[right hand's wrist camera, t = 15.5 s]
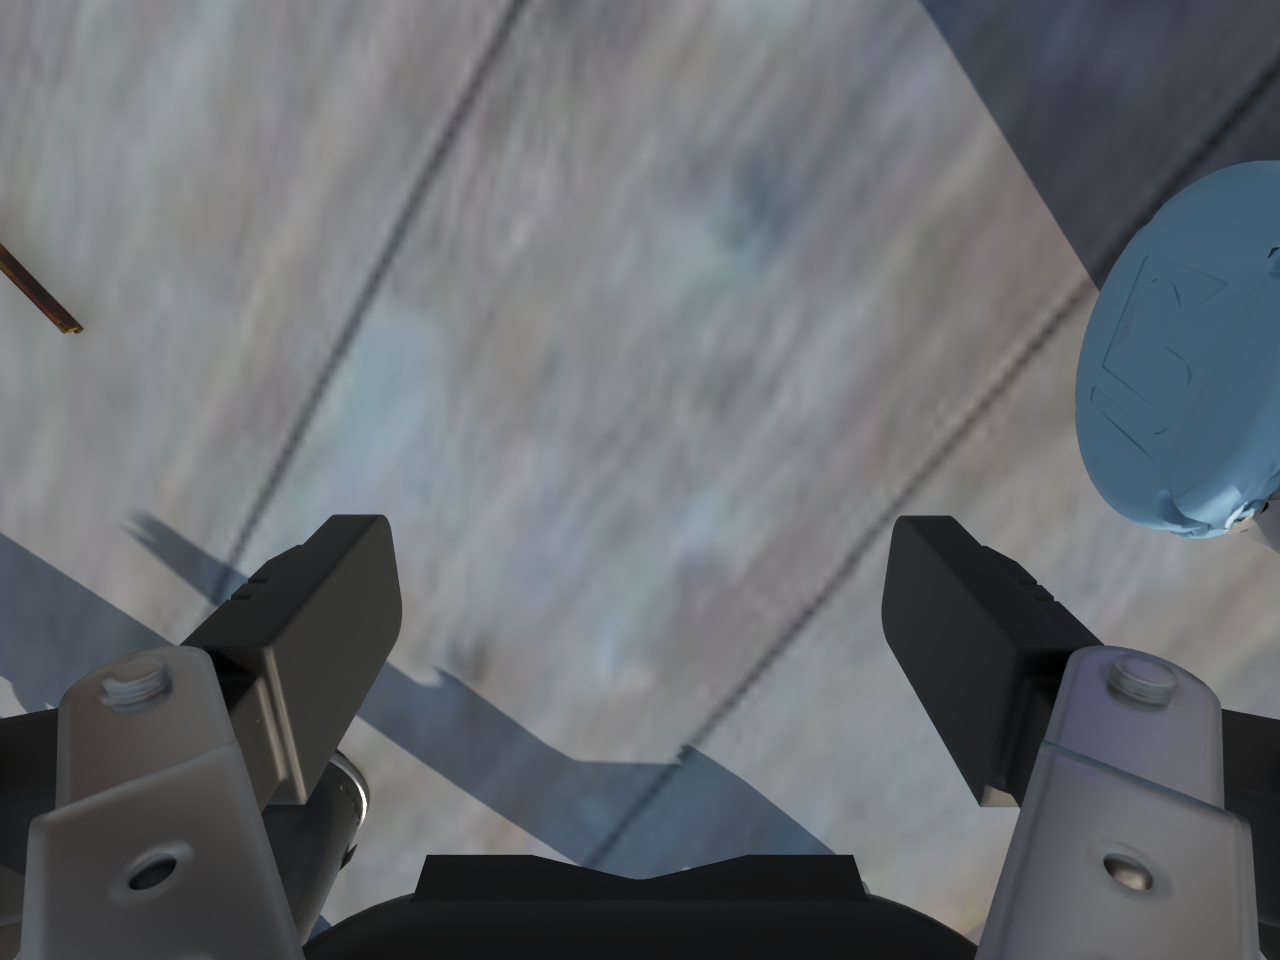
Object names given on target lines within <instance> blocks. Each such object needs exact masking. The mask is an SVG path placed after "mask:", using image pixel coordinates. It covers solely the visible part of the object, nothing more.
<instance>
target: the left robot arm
mask: <svg viewBox="0 0 1280 960" xmlns="http://www.w3.org/2000/svg"><path fill="white" fill-rule="evenodd" d="M1075 398H1076V414H1075V422H1076V431H1077V437H1078V443H1079V448H1080V452H1081V456H1082V459H1083V462H1084V465H1085V467H1086V470H1087V472H1088V475H1089V477H1090V479H1091V480H1092V482H1093V484H1094V485H1095V487H1096V489H1097V490H1098V492H1099V494H1100V495H1101V496H1102V497H1103V499H1104V500H1105V501H1106V502H1107V503H1108V504H1109V505H1110V506H1111V507H1112V508H1113V509H1114V510H1116V511H1117V512H1118V513H1119V514H1121V515H1122V516H1123V517H1125V518H1127V519H1129V520H1130V521H1132V522H1135V523H1137V524H1139V525H1141V526H1145V527H1149V528H1154V529H1160V530H1168V531H1170V532H1171V533H1173V534H1177V535H1179V536H1181V537H1183V538H1210V537H1214V536H1217V535H1221V534H1224V533H1225V534H1234V535H1238V536H1242V537H1245V538H1248V539H1251V540H1254V541H1256V542H1259V543H1261V544H1263V545H1265V546H1267V547H1269V548H1271V549H1272V550H1274V551H1276V552H1277V553H1279V554H1280V160H1260V161H1251V162H1244V163H1239V164H1235V165H1232V166H1228V167H1225V168H1222V169H1220V170H1217V171H1215V172H1212V173H1210V174H1208V175H1206V176H1204V177H1202V178H1200V179H1198V180H1196V181H1195V182H1193V183H1192V184H1190V185H1189V186H1187V187H1186V188H1184V189H1183V190H1181V191H1180V192H1178V193H1177V194H1176V195H1174V196H1173V197H1172V198H1170V199H1169V200H1168V201H1167V202H1166V203H1165V204H1163V206H1162V207H1161V209H1160V210H1158V211H1157V213H1156V214H1155V216H1154V217H1153V219H1152V220H1151V221H1150V222H1149V223H1148V224H1146V225H1145V226H1143V227H1142V228H1141V229H1140V230H1138V231H1137V233H1136V234H1135V235H1134V237H1133V238H1132V239H1131V241H1130V242H1129V243H1128V245H1127V246H1126V248H1125V249H1124V251H1123V252H1122V254H1121V255H1120V257H1119V258H1118V260H1117V262H1116V263H1115V265H1114V267H1113V268H1112V270H1111V272H1110V274H1109V276H1108V277H1107V279H1106V281H1105V283H1104V285H1103V288H1102V290H1101V292H1100V294H1099V296H1098V299H1097V301H1096V304H1095V306H1094V309H1093V311H1092V314H1091V317H1090V320H1089V323H1088V326H1087V329H1086V333H1085V336H1084V340H1083V344H1082V349H1081V353H1080V358H1079V363H1078V369H1077V377H1076V389H1075Z"/></svg>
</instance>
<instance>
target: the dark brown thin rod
mask: <svg viewBox="0 0 1280 960" xmlns="http://www.w3.org/2000/svg"><path fill="white" fill-rule="evenodd" d="M0 270H1V271H2V272H3V273H4V274H5V275H6V276H7V277H8V278H9V279H10V280H11V281H12V282H13V283H14V284H15V285H16V286H17V287H18V288H19V289H20V290H21V291H22V292H23V293H24V294H25V295H26V296H27V297H28V298H29V299H30V300H31V301H32V302H33V303H34V304H35V305H36V306H37V307H38V308H39V309H40V310H41V311H42V312H43V313H44V314H45V315H46V316H47V317H48V318H49V319H50V320H51V321H52V322H53V323H54V324H55V325H56V326H57V327H58V328H59V329H60V330H61V331H62V333H69V332H71V331H74V332H75V333H76V334H78V333H80V332H81V331H82V330H83V328H82V326H81V325H80V324H78V323H77V321H76V320H75V319H74V318H73V317H72V316H71V315H70V314H69V313H68V312H67V311H66V310H65V309H64V308H63V307H62V306H61V305H60V304H59V303H58V302H57V301H56V300H55V299H54V298H53V297H52V296H51V295H50V294H49V293H48V292H47V291H46V290H45V289H44V288H43V287H42V286H41V285H40V284H39V283H38V282H37V281H36V280H35V279H34V278H33V277H32V276H31V275H30V274H29V273H28V272H27V270H26V269H25V268H24V267H23V266H22V265H21V264H20V263H19V262H18V261H17V260H16V259H15V258H14V257H13V256H12V255H11V254H10V253H9V252H8V251H7V250H6V249H5V248H4V246H3V245H2V244H0Z"/></svg>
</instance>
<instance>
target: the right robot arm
mask: <svg viewBox="0 0 1280 960" xmlns="http://www.w3.org/2000/svg"><path fill="white" fill-rule="evenodd" d="M401 621H402V601H401V593H400V587H399V580H398V573H397V566H396V559H395V553H394V546H393V539H392V532H391V527H390V524H389V522H388V520H387V518H386V517H385V516H384V515H332V516H331V517H330V518H329V519H328V520H327V521H326V522H325V523H324V524H323V525H322V526H321V527H320V528H319V529H318V530H317V531H316V532H315V533H314V534H313V535H312V536H311V537H310V538H309V539H308V540H307V541H306V542H305V543H304V544H303V545H297V546H295V547H293V548H291V549H289V550H287V551H285V552H283V553H282V554H280V555H278V556H276V557H274V558H272V559H270V560H268V561H267V562H266V563H265V564H264V565H263V566H262V567H261V568H260V569H259V570H258V571H257V572H255V573H254V574H253V575H252V576H251V577H250V578H249V579H248V584H243V585H242V586H241V587H240V588H239V589H238V590H237V591H236V592H235V593H234V594H233V595H231V600H226V601H225V602H224V603H223V604H222V605H221V606H220V607H219V608H218V609H217V610H216V611H215V612H214V613H213V614H212V615H211V616H210V617H209V618H207V619H206V620H205V621H204V622H203V623H202V624H201V625H200V626H199V627H198V628H197V629H196V630H195V631H194V632H193V633H192V634H191V635H190V636H189V637H188V638H187V639H186V640H184V641H183V642H182V643H181V644H180V645H179V646H164V647H157V648H152V649H147V650H143V651H139V652H135V653H132V654H129V655H126V656H123V657H121V658H118V659H116V660H114V661H111V662H109V663H107V664H105V665H103V666H101V667H99V668H97V669H95V670H94V671H92V672H90V673H89V674H87V675H86V676H84V677H83V678H81V679H80V680H79V681H77V682H76V683H75V684H74V685H73V686H72V687H71V688H70V689H69V690H68V691H67V692H66V693H65V695H64V696H63V698H62V700H61V701H60V704H59V708H55V709H50V710H44V711H39V712H34V713H29V714H23V715H18V716H13V717H8V718H3V719H0V960H13V959H14V957H15V956H16V955H17V954H18V952H19V951H20V960H1260V951H1261V952H1262V954H1263V955H1264V956H1265V957H1266V959H1267V960H1280V720H1277V719H1272V718H1267V717H1262V716H1256V715H1251V714H1246V713H1241V712H1236V711H1230V710H1225V709H1221V704H1220V701H1219V700H1218V698H1217V696H1216V695H1215V693H1214V692H1213V691H1212V690H1211V689H1210V688H1209V687H1208V686H1207V685H1206V684H1205V683H1204V682H1203V681H1201V680H1200V679H1199V678H1197V677H1196V676H1194V675H1193V674H1191V673H1190V672H1188V671H1186V670H1185V669H1183V668H1181V667H1179V666H1177V665H1175V664H1173V663H1171V662H1169V661H1166V660H1164V659H1162V658H1159V657H1157V656H1154V655H1151V654H1148V653H1145V652H1141V651H1137V650H1133V649H1128V648H1123V647H1116V646H1105V645H1104V644H1103V643H1102V642H1101V641H1100V640H1099V639H1098V638H1096V637H1095V636H1094V635H1093V634H1092V633H1091V632H1090V631H1089V630H1088V629H1087V628H1086V627H1085V626H1084V625H1083V624H1082V623H1081V622H1080V621H1079V620H1078V619H1076V618H1075V617H1074V616H1073V615H1072V614H1071V613H1070V612H1069V611H1068V610H1067V609H1066V608H1065V607H1064V606H1063V605H1062V604H1061V603H1060V602H1059V601H1054V597H1053V596H1052V595H1051V594H1050V593H1049V592H1048V591H1047V590H1046V589H1045V588H1044V587H1043V586H1042V585H1037V581H1036V580H1035V579H1034V578H1033V577H1032V576H1031V575H1030V574H1029V573H1028V572H1027V571H1026V570H1025V569H1024V568H1023V567H1022V566H1021V565H1020V564H1019V563H1017V562H1016V561H1014V560H1012V559H1010V558H1008V557H1006V556H1005V555H1003V554H1001V553H999V552H997V551H995V550H993V549H991V548H989V547H988V546H981V545H980V544H979V543H978V542H977V541H976V540H975V539H974V538H973V537H972V536H971V535H970V534H969V533H968V532H967V531H966V530H965V529H964V528H963V527H962V526H961V525H960V524H959V523H958V522H957V521H956V520H955V519H954V518H953V517H952V516H900V517H899V518H898V519H897V520H896V522H895V525H894V528H893V532H892V539H891V545H890V552H889V559H888V566H887V572H886V579H885V586H884V592H883V599H882V624H883V630H884V634H885V637H886V640H887V642H888V644H889V646H890V648H891V650H892V652H893V653H894V655H895V657H896V659H897V660H898V662H899V664H900V666H901V667H902V669H903V671H904V673H905V675H906V676H907V678H908V680H909V682H910V683H911V685H912V687H913V689H914V691H915V692H916V694H917V696H918V698H919V699H920V701H921V703H922V705H923V706H924V708H925V710H926V712H927V714H928V715H929V717H930V719H931V721H932V722H933V724H934V726H935V728H936V729H937V731H938V733H939V735H940V737H941V738H942V740H943V742H944V744H945V745H946V747H947V749H948V751H949V753H950V754H951V756H952V758H953V760H954V761H955V763H956V765H957V767H958V768H959V770H960V772H961V774H962V776H963V777H964V779H965V781H966V783H967V784H968V786H969V788H970V790H971V791H972V793H973V795H974V797H975V799H976V800H977V802H978V804H979V806H980V807H1019V808H1020V809H1021V810H1020V813H1019V816H1018V820H1017V823H1016V826H1015V829H1014V833H1013V836H1012V839H1011V842H1010V846H1009V849H1008V852H1007V855H1006V859H1005V862H1004V865H1003V868H1002V872H1001V875H1000V878H999V881H998V885H997V888H996V891H995V894H994V898H993V901H992V904H991V907H990V911H989V914H988V917H987V920H986V924H985V927H984V930H983V933H982V937H981V940H980V943H979V946H977V945H975V944H974V943H973V942H971V941H970V940H968V939H967V938H965V937H964V936H963V935H961V934H960V933H958V932H956V931H954V930H953V929H951V928H949V927H947V926H946V925H944V924H942V923H940V922H939V921H937V920H935V919H934V918H932V917H929V916H927V915H925V914H923V913H921V912H919V911H916V910H914V909H912V908H910V907H908V906H905V905H903V904H900V903H897V902H894V901H891V900H888V899H886V898H883V897H880V896H876V895H872V894H868V893H865V890H864V887H863V884H862V881H861V878H860V875H859V872H858V869H857V866H856V863H855V859H854V856H853V855H746V856H742V857H737V858H733V859H729V860H725V861H721V862H717V863H713V864H709V865H705V866H700V867H696V868H692V869H688V870H684V871H680V872H676V873H672V874H668V875H663V876H659V877H655V878H651V879H644V880H636V879H629V878H625V877H621V876H617V875H612V874H608V873H604V872H600V871H596V870H592V869H588V868H584V867H580V866H575V865H571V864H567V863H563V862H559V861H555V860H551V859H547V858H543V857H538V856H534V855H427V856H426V859H425V863H424V866H423V869H422V872H421V875H420V878H419V881H418V884H417V887H416V890H415V893H412V894H408V895H404V896H400V897H397V898H394V899H392V900H389V901H386V902H383V903H380V904H377V905H375V906H372V907H370V908H368V909H366V910H364V911H361V912H359V913H357V914H355V915H353V916H351V917H348V918H346V919H345V920H343V921H341V922H340V923H338V924H336V925H334V926H333V927H331V928H329V929H327V930H326V931H324V932H322V933H320V934H319V935H317V936H316V937H315V938H313V939H312V940H310V941H309V942H307V941H308V938H309V936H310V934H311V932H312V930H313V927H314V925H315V923H316V921H317V919H318V916H319V914H320V912H321V910H322V907H323V905H324V903H325V901H326V899H327V896H328V894H329V892H330V890H331V888H332V885H333V883H334V881H335V879H336V876H337V874H338V872H339V871H340V870H341V869H342V868H343V867H344V866H345V865H346V864H347V863H348V862H349V861H350V860H351V858H352V856H353V853H354V851H355V849H356V846H357V844H358V843H357V844H356V845H355V846H354V847H353V848H352V849H351V850H350V851H349V852H348V850H349V848H350V845H351V843H352V841H353V839H354V836H355V834H356V832H357V830H358V829H359V828H360V826H361V824H362V822H363V820H364V818H365V816H366V813H367V811H368V808H369V803H370V796H369V790H368V786H367V784H366V782H365V779H364V778H363V776H362V774H361V773H360V772H359V770H358V769H357V768H356V767H355V766H354V765H353V764H352V763H351V762H350V761H348V760H347V759H346V758H344V757H343V756H341V755H340V754H338V753H336V752H335V750H336V748H337V747H338V745H339V743H340V741H341V740H342V738H343V736H344V734H345V732H346V731H347V729H348V727H349V725H350V723H351V722H352V720H353V718H354V716H355V714H356V713H357V711H358V709H359V707H360V705H361V704H362V702H363V700H364V698H365V696H366V695H367V693H368V691H369V689H370V688H371V686H372V684H373V682H374V680H375V679H376V677H377V675H378V673H379V671H380V670H381V668H382V666H383V664H384V662H385V661H386V659H387V657H388V655H389V653H390V652H391V650H392V648H393V646H394V644H395V643H396V641H397V638H398V635H399V632H400V627H401ZM347 852H348V853H347Z"/></svg>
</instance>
